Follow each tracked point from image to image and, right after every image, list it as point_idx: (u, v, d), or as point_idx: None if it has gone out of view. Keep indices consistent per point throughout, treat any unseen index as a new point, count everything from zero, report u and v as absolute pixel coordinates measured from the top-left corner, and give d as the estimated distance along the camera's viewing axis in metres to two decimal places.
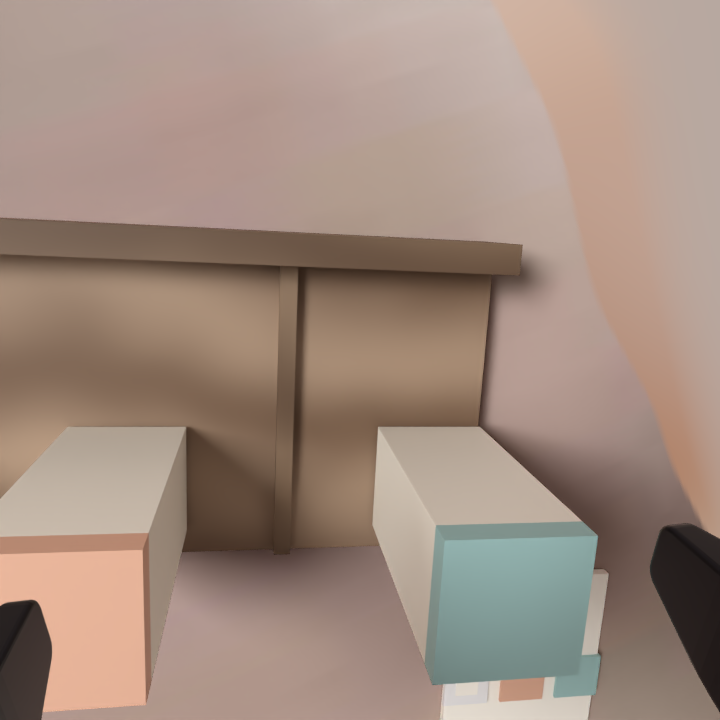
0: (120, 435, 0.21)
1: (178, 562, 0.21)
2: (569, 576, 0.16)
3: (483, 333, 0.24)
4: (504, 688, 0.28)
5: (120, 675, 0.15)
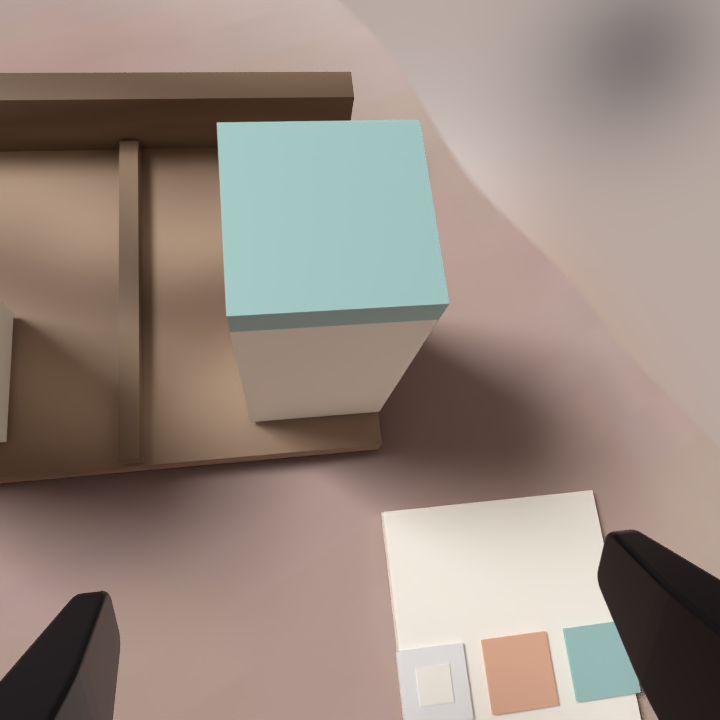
0: None
1: None
2: (395, 167, 0.12)
3: None
4: (495, 689, 0.18)
5: None
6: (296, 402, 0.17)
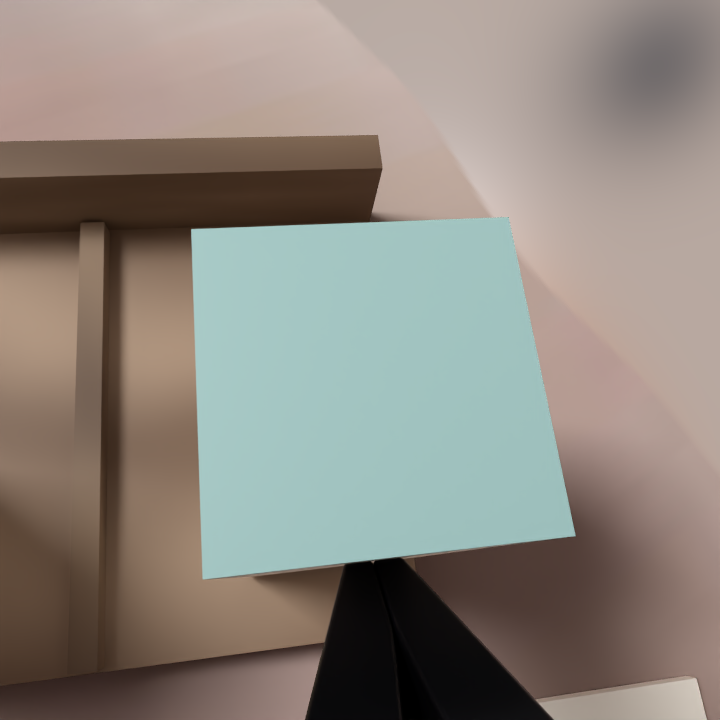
0: None
1: None
2: (475, 297, 0.08)
3: None
4: None
5: None
6: (309, 569, 0.13)
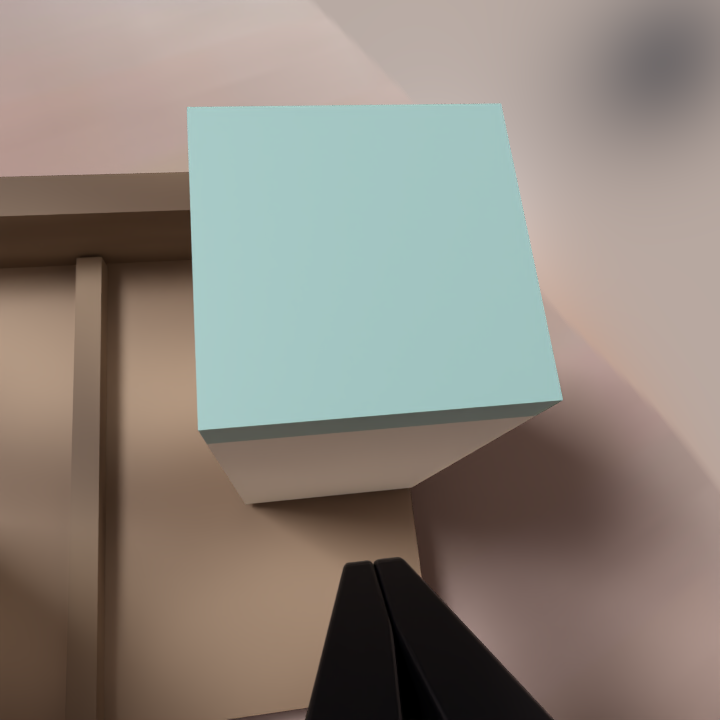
0: None
1: None
2: (467, 177, 0.08)
3: None
4: None
5: None
6: (306, 488, 0.13)
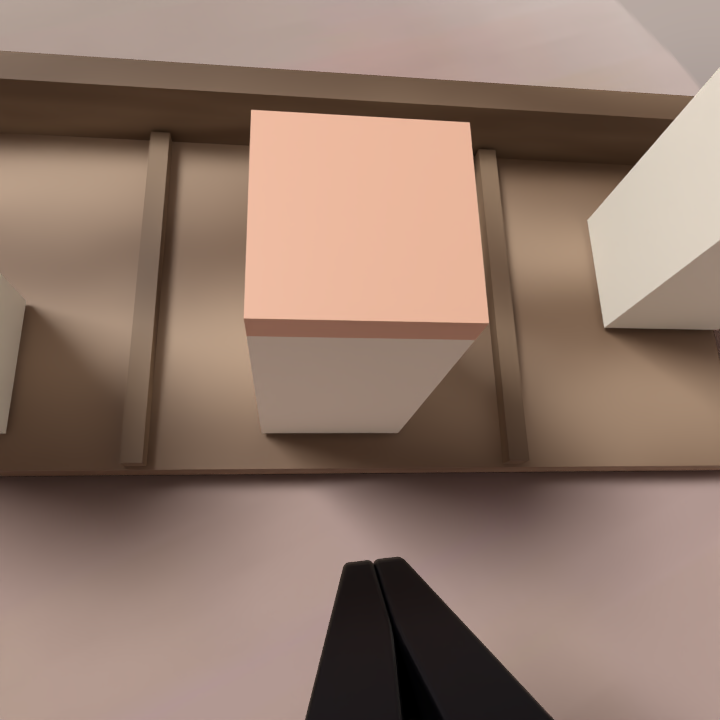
0: None
1: None
2: None
3: None
4: None
5: (453, 276, 0.11)
6: (680, 303, 0.19)
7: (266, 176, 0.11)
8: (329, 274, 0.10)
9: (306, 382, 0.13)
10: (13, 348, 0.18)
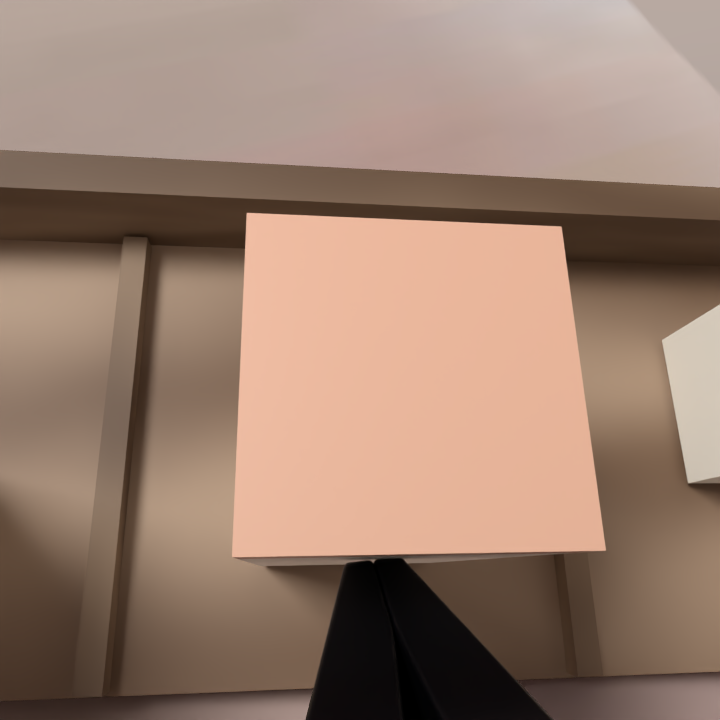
0: None
1: None
2: None
3: None
4: None
5: (549, 473, 0.07)
6: None
7: (268, 317, 0.07)
8: (364, 478, 0.07)
9: (321, 561, 0.10)
10: None
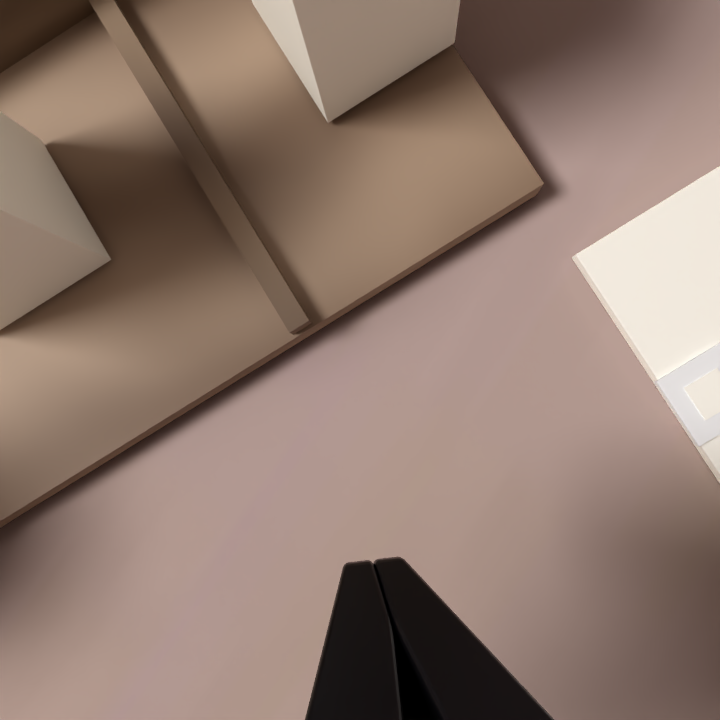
0: None
1: (57, 231, 0.15)
2: None
3: None
4: None
5: None
6: (365, 54, 0.15)
7: None
8: None
9: None
10: None
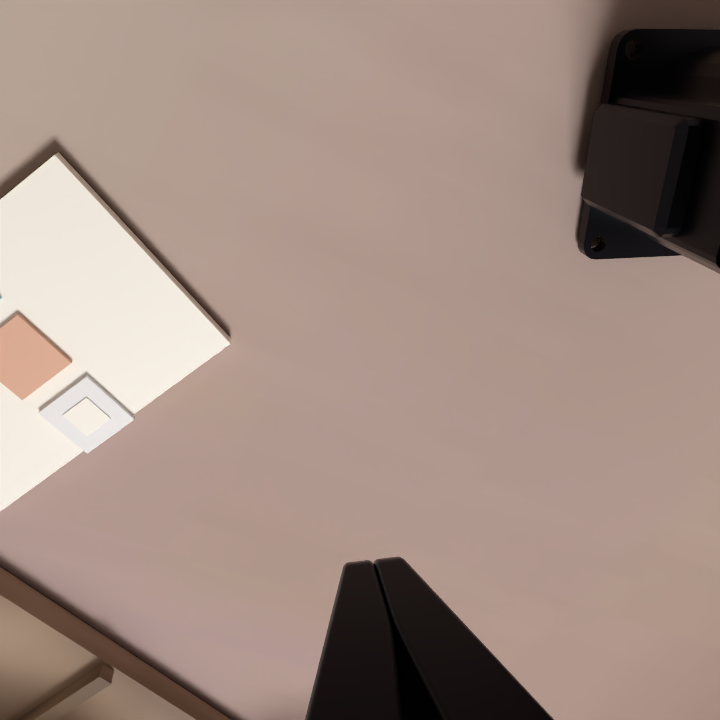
0: None
1: None
2: None
3: None
4: (50, 371, 0.19)
5: None
6: None
7: None
8: None
9: None
10: None
